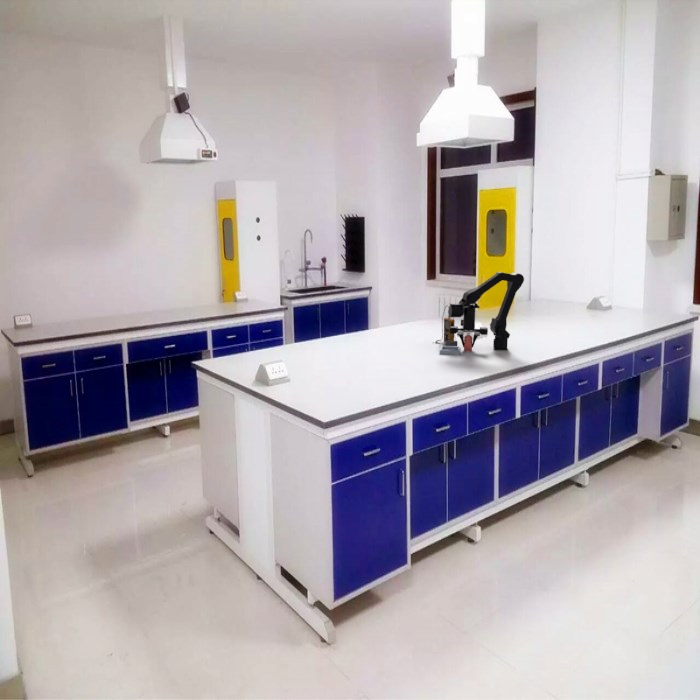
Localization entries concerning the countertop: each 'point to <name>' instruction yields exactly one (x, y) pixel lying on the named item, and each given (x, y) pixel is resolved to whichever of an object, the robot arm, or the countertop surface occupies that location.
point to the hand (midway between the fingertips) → (468, 347)
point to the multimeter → (447, 329)
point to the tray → (450, 350)
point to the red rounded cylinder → (468, 342)
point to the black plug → (450, 343)
